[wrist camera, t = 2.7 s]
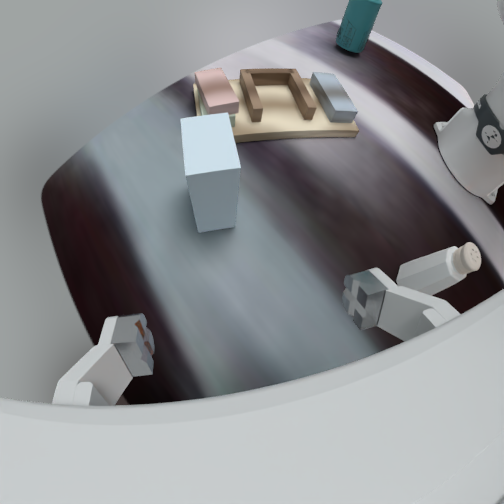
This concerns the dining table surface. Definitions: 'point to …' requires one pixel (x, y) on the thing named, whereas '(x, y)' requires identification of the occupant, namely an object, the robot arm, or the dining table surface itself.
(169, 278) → the dining table surface
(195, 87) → the block display stand
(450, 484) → the robot arm
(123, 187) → the dining table surface
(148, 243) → the dining table surface
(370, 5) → the beverage bottle
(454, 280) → the pepper shaker
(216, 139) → the pale blue upright box
